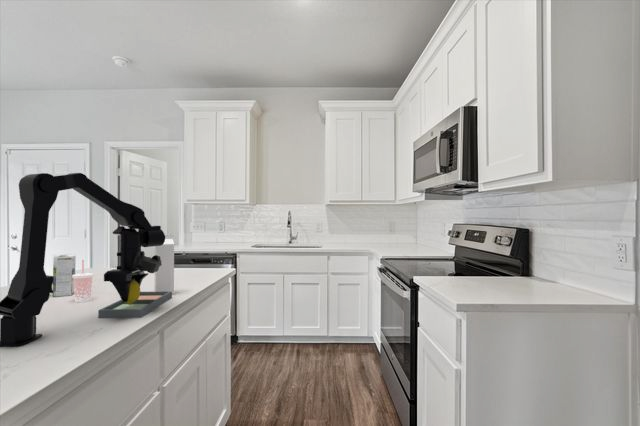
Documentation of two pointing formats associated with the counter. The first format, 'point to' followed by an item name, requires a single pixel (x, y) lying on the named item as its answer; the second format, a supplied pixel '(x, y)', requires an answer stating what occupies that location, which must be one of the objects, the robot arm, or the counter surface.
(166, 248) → the milk
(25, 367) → the counter surface
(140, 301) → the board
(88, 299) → the beverage cup
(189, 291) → the counter surface
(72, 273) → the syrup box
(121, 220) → the robot arm
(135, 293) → the lemon
